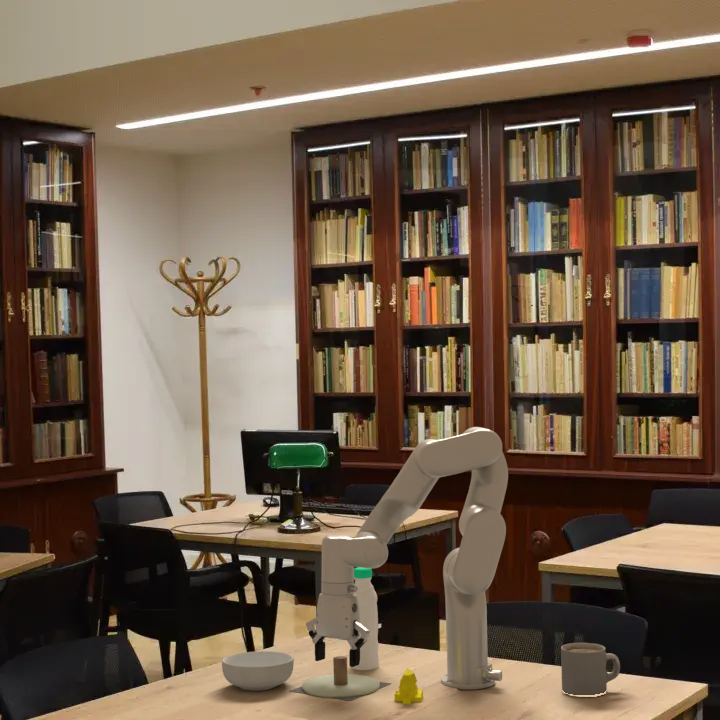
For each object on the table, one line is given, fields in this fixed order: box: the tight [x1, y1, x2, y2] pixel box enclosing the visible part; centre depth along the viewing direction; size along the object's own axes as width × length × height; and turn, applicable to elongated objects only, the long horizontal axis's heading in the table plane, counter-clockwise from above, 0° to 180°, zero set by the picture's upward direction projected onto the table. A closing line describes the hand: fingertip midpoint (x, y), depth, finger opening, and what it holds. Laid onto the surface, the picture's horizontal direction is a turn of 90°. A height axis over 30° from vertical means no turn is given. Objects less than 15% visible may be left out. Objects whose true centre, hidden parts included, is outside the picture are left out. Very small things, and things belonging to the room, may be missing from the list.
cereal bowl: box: [221, 650, 295, 692], centre depth 277 cm, size 17×17×7 cm
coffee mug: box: [560, 642, 621, 695], centre depth 266 cm, size 13×10×10 cm
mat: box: [289, 681, 392, 702], centre depth 273 cm, size 17×17×1 cm
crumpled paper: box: [393, 667, 424, 705], centre depth 262 cm, size 6×8×8 cm
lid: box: [301, 655, 381, 699], centre depth 273 cm, size 18×18×7 cm
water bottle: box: [349, 567, 380, 671], centre depth 292 cm, size 7×7×25 cm
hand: (337, 662), depth 273 cm, fingers open, 9 cm apart
